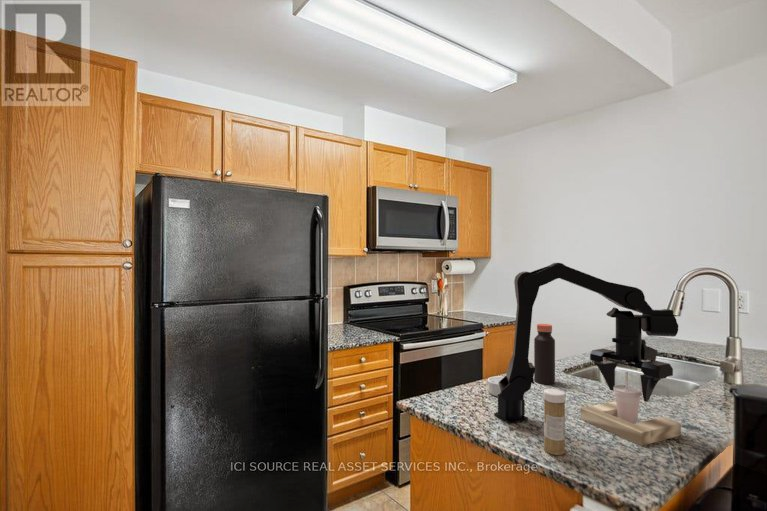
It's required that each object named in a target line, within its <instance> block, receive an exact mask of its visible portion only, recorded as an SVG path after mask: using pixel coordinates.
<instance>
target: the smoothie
mask: <svg viewBox="0 0 767 511" xmlns="http://www.w3.org/2000/svg"><path fill="white" fill-rule="evenodd" d="M624 375H625V385H622V384H620V385H619V384H618V385H616V384H615V386H614V387H613V390H612V392H614V399H615V401H616V405H617V413H618V418H620V419H622V420H625V421H627V422H630V423H633V424H635V423H638V415H639V408H640V402H641V397H643V393H642V389H640V388H638V387H634V386H631V385H629V372H626V371H625V374H624Z"/></svg>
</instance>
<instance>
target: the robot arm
mask: <svg viewBox="0 0 767 511" xmlns="http://www.w3.org/2000/svg"><path fill="white" fill-rule="evenodd" d="M557 279H560V280H561V281H562V280H563V281H566V282H568V283H570V284H573V285H575V286H578V287H581V288H583V289H586V290H588V291H590V292H594V293H596V294H598V295H600V296H602V297H603V298H605V299H607V301H610V302H611V303H613V304H614V305H616V306H618V307H621V308H623V309H627V310H619V308H617V307H616V306H615V307H612V309H611V310H610V311H608V312H606V316H608V317H610V318H615V337H612V338H611V342H612V343H615V350H611V349H607V348H597V349H592V350H591V351H590V354H589V361H591V362H593V364H594V366H595V365H596V367H597V368H598V370H599V372H600V373H601V375H602V377H603V378H604V380H605V382H606V384H607V386H608V388H609V391H611V392H613V387H614V386H616V371H615V370H616V368H617V366H618V364H621V365H623V366H628V367H631V368H636V369H640V370H641V373H642V374H640V376H639V377H640V384H641V391H642V398H643V402H649V400H650V398H651V396H652V394H653V392H654V390H655V387H656V385H657V384H658V383H659V381H661V379H662V380H663V379H666V378H668V377H672V376H674V368H673V367H672V365H671V363H668V362H663V361H659V360H657V355H658V352H659V351H658V349H655V348H653V347H651V346H647V342H646V339H642V338H643V337H642V334H643V333H642V332H645V333H646V335H647V336H650V337H652V336H653V337H671V338H672V337H673V338H674V337H677V334H678V332H679V324H678V321H677V318H676V316H675V315H674V310H673V309H670V308H669V309H668V308H663V309H653V308H652V307H651V306H650V304H649V303H648V302H647V300H646V298H645V294H644V292H643V290H642V289H640V288H638V287H635V286H631V285H625V284H620V283H615V282H610V281H606V280H603V279H601V278H598V277H596V276H593V275H591V274H589V273H586V272H583V271H580V270H578V269H575V268H572V267H570V266H566V264H564V263H562V262H553V263H551V264H550V265H547V266H544V267H542V268H538V269H536V270H533V271H531V272H530V271H521V272H518V273H517V274H516V275H515V277H514V281H513V283H514V291H515V298H516V313H515V325H514V338H513V347H512V348H513V349H512V350H513V351H512V355H511V358H510V361H509V362H508V366H507V370H506V375H505V376H503V377H504V378H503V379H502V380H500V381H499V387H500V390H501V393H500V394H498V397H497V412H494V414H493V415H494V416H495V417H497V418H499V419H501V420H502V421H504V422H506V423H508V424H513V423H518V422H523V421H528V420H529V417H527V416H525V413H526V412H525V411H526V408H525V406H526V405H525V404H526V403H525V402H526V401H525V397H524V396H525V393H527V392H528V391H530V390H531V387H532V384H535V380H534V372H535V367H534V363H532V362H530V361H529V354H530V352H529V351H530V342H531V333H532V332H531V330H532V329H531V328H532V318H533V307H534V304H535V301H536V299H537V296H538V293H539V291H540V287H542V286H545V285H546V284H550V283H551V282H553V281H555V280H557ZM634 312H637V313H640V314H634Z"/></svg>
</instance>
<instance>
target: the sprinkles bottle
mask: <svg viewBox="0 0 767 511" xmlns="http://www.w3.org/2000/svg"><path fill="white" fill-rule="evenodd" d="M566 401H567V400H566V392H565V391H563V390H561V389H557V388H546V389H544V390H543V403H544V404H543V407H544V408H543V409H544V411H543V412H544V414H543V419H544V420H543V436H544V437H543V438H544V442H543V443H544V446H543V450H544V451H545V452H546V453H548V454H551V455H553V456H554V455H555V456H563V455H565V453H566V448H565V447H566V443H565V440H566V410H565V409H566V405H565V404H566Z"/></svg>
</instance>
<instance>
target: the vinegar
mask: <svg viewBox="0 0 767 511" xmlns="http://www.w3.org/2000/svg"><path fill="white" fill-rule="evenodd" d="M536 331H537V335H536V336H535V337H534V340H533V341H534V342H533V344H534V351H533V353H534V354H533V355H534V356H533V358H534V360H533V366H534V367H535V372H534V376H533V380H534V382H535V383H537V384H540V385H553V384H555V382H556V339H555V338H554V337H553V336H552V332H553V325H552V324H548V323H538V324H536Z"/></svg>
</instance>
